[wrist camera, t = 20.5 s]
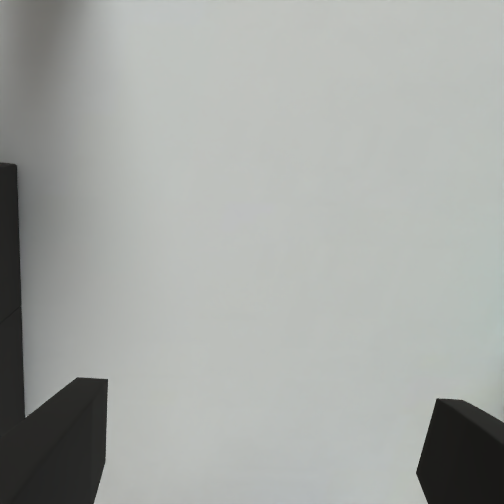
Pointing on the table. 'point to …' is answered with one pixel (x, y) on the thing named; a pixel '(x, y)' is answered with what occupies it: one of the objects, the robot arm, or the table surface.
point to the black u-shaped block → (10, 304)
